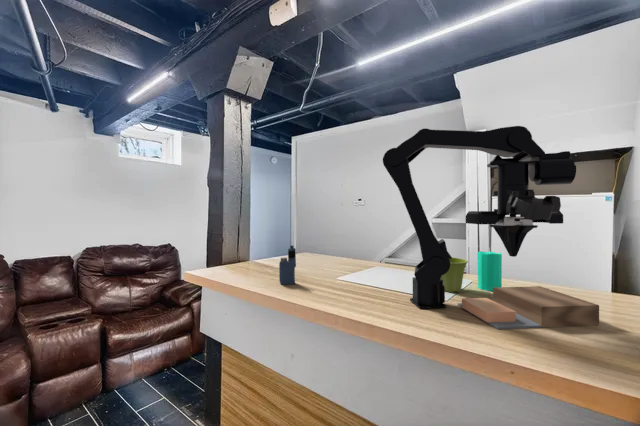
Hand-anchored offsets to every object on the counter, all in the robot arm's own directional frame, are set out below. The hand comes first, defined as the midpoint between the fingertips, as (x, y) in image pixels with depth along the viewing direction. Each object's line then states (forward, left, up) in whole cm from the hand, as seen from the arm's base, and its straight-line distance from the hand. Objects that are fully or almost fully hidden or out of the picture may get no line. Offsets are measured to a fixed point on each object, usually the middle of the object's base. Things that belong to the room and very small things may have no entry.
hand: (512, 256), depth 63 cm
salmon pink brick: (-7, -1, -10) cm, 12 cm away
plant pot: (-4, +19, -13) cm, 23 cm away
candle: (+8, +19, -13) cm, 24 cm away
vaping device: (-51, +30, -13) cm, 61 cm away
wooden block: (+6, -1, -13) cm, 14 cm away
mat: (-5, -1, -13) cm, 14 cm away
